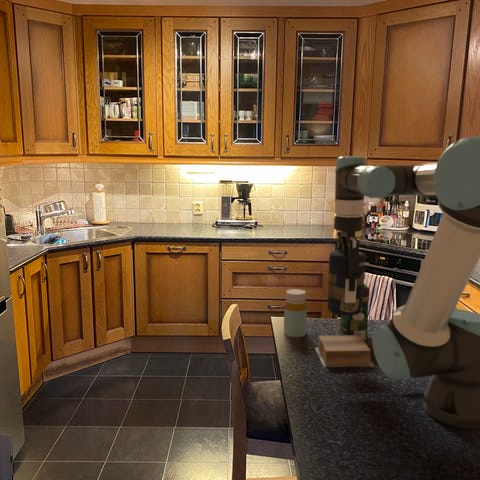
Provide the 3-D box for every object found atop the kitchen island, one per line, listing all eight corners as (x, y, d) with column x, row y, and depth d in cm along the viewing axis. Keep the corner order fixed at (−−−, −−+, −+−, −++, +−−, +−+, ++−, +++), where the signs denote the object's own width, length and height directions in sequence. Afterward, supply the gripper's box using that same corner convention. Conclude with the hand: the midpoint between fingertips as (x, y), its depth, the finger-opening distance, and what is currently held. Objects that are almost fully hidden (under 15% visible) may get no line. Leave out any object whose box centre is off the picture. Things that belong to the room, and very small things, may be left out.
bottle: (309, 335, 154) (310, 290, 151) (300, 343, 148) (301, 296, 146) (290, 331, 158) (290, 287, 155) (280, 338, 152) (280, 292, 149)
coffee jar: (336, 333, 156) (338, 277, 153) (361, 332, 157) (363, 277, 153) (344, 345, 147) (346, 286, 143) (369, 344, 147) (373, 285, 144)
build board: (377, 377, 126) (378, 372, 126) (321, 378, 126) (321, 373, 125) (359, 349, 144) (359, 344, 144) (309, 349, 143) (309, 345, 143)
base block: (370, 364, 130) (370, 350, 130) (325, 365, 130) (326, 351, 129) (359, 348, 141) (359, 335, 140) (318, 348, 141) (318, 335, 140)
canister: (340, 304, 140) (342, 243, 136) (369, 312, 133) (372, 248, 130) (320, 312, 133) (322, 248, 130) (349, 321, 126) (352, 253, 123)
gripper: (375, 221, 117) (370, 309, 121) (352, 210, 139) (348, 285, 143) (344, 221, 117) (341, 309, 121) (326, 210, 139) (323, 285, 143)
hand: (345, 296), depth 132 cm, fingers closed on canister, 9 cm apart
